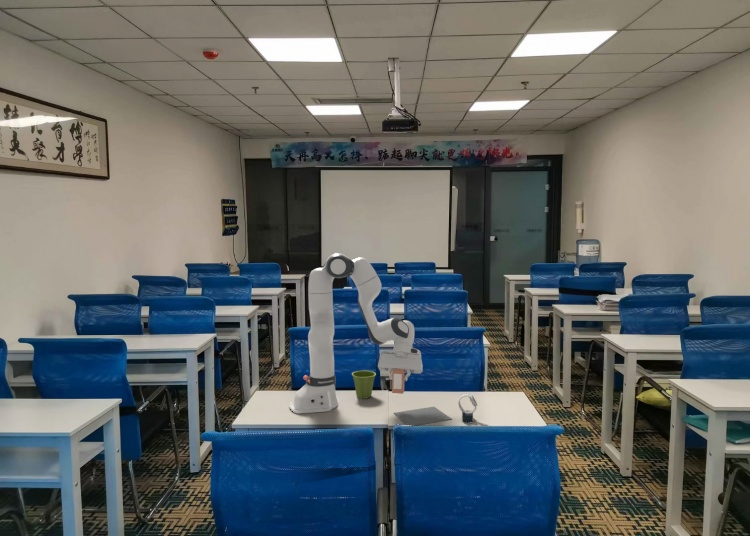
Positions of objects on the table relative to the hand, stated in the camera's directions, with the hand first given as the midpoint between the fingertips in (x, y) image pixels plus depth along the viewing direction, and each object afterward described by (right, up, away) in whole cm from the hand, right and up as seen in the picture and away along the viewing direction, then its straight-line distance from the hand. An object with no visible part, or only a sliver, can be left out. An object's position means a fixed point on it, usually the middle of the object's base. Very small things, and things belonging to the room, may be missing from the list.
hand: (398, 379), depth 224 cm
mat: (+10, -15, -6) cm, 19 cm away
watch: (+29, -15, -11) cm, 35 cm away
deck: (0, -6, +1) cm, 6 cm away
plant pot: (-16, -13, +21) cm, 29 cm away
